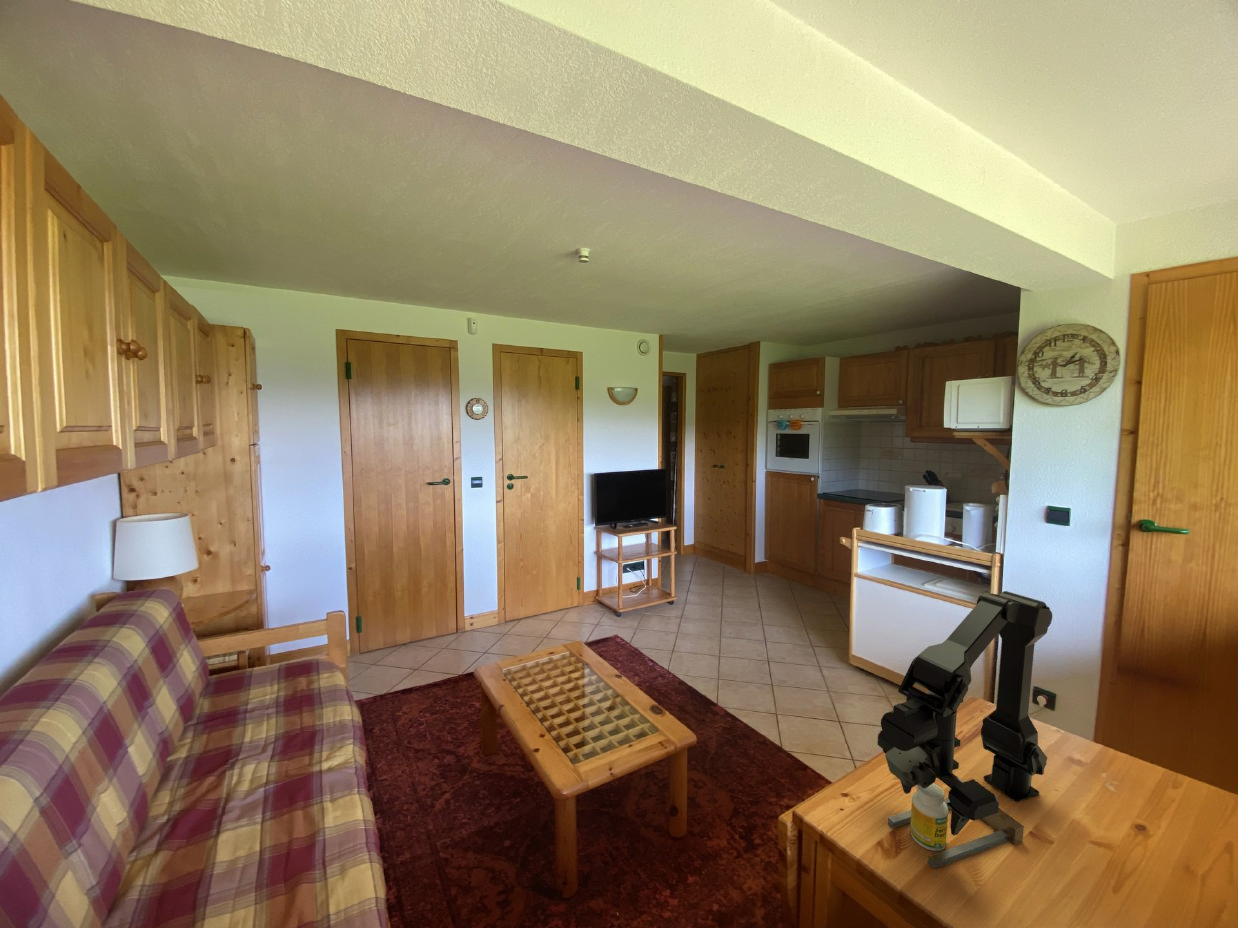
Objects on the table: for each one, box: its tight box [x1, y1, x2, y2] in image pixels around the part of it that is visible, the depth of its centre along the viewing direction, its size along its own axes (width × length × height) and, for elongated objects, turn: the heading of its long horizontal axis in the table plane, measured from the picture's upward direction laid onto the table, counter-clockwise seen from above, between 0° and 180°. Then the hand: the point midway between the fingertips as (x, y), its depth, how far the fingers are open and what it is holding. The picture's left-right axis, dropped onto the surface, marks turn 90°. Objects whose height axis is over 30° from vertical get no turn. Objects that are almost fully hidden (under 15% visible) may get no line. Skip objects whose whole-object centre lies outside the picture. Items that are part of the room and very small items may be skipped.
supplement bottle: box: [909, 782, 949, 852], centre depth 85 cm, size 5×5×10 cm
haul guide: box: [887, 797, 1025, 870], centre depth 87 cm, size 19×11×3 cm, turn 107°
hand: (929, 812), depth 85 cm, fingers open, 9 cm apart
